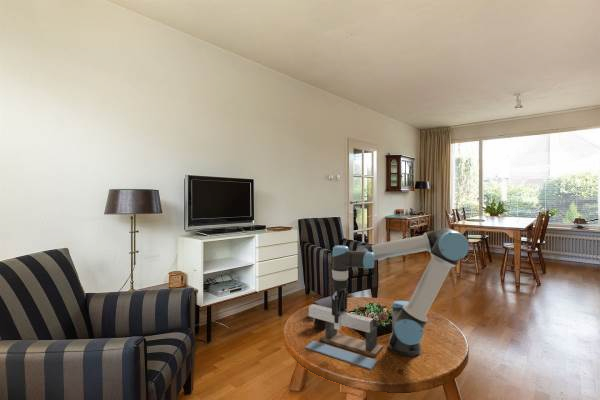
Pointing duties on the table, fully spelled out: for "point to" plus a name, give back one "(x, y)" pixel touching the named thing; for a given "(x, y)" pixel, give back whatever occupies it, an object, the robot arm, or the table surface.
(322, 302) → the bluetooth speaker
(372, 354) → the wooden stand
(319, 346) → the mat
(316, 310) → the rail
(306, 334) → the table surface
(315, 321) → the coffee mug
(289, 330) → the table surface
